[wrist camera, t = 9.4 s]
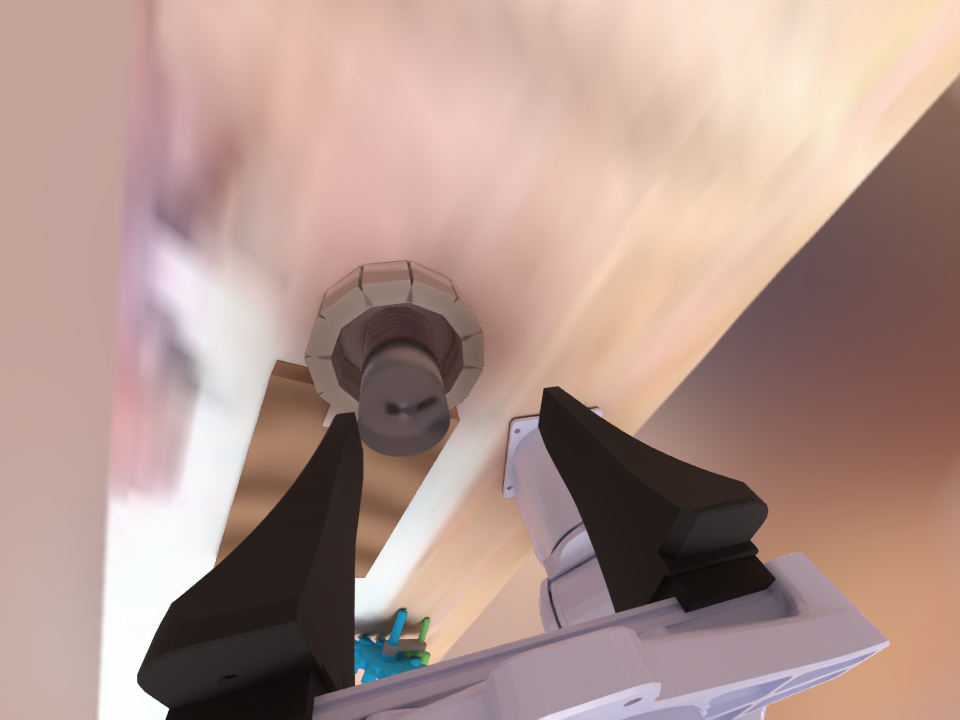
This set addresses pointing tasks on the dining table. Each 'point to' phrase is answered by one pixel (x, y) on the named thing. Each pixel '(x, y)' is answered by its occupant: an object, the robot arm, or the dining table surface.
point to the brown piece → (350, 406)
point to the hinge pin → (401, 386)
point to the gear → (391, 652)
